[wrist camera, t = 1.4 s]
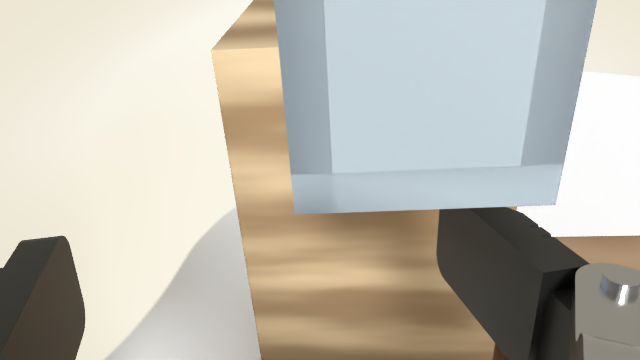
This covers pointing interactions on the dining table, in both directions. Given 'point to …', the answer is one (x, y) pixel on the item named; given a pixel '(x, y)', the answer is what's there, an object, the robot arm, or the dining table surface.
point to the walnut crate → (599, 256)
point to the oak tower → (326, 238)
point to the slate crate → (429, 101)
